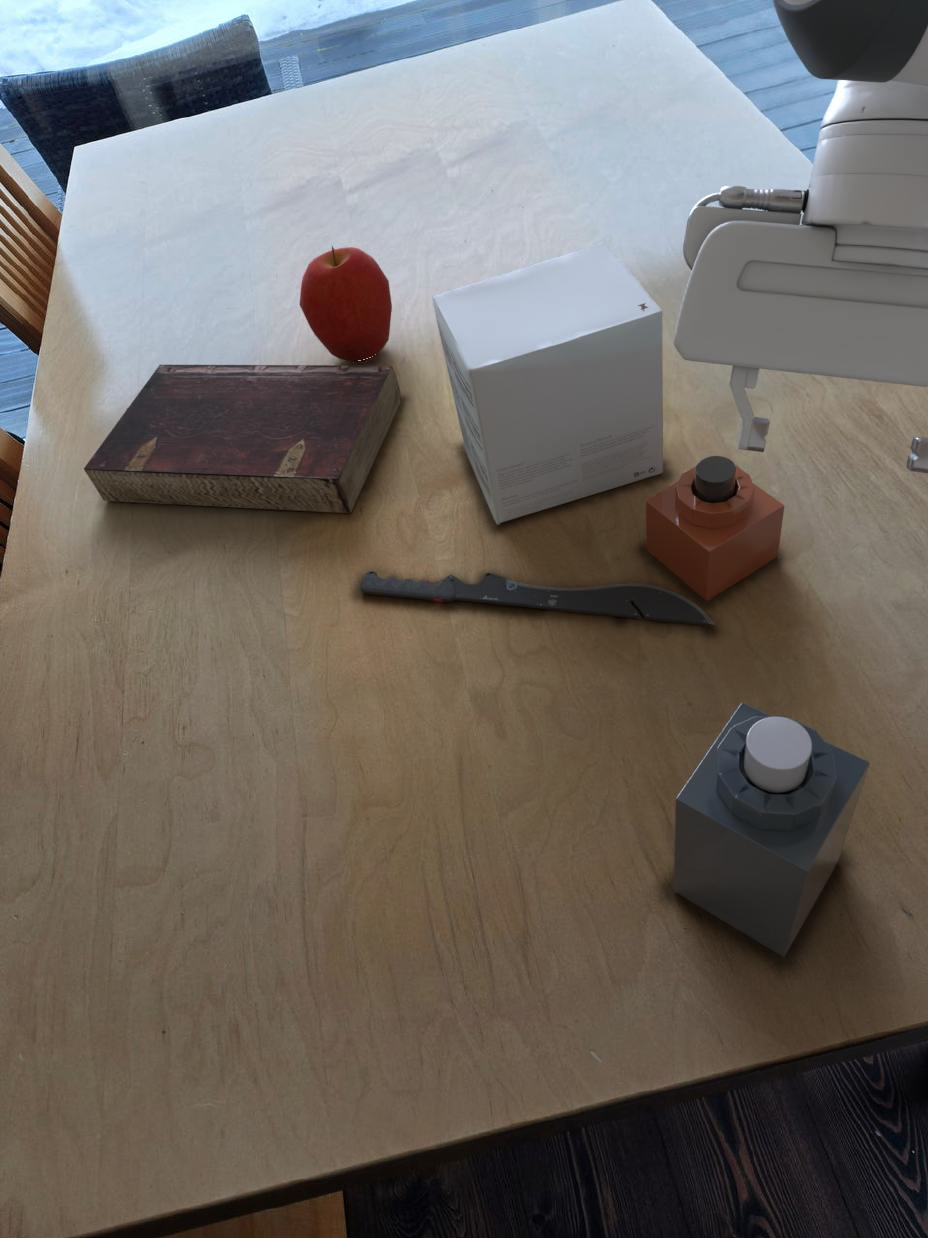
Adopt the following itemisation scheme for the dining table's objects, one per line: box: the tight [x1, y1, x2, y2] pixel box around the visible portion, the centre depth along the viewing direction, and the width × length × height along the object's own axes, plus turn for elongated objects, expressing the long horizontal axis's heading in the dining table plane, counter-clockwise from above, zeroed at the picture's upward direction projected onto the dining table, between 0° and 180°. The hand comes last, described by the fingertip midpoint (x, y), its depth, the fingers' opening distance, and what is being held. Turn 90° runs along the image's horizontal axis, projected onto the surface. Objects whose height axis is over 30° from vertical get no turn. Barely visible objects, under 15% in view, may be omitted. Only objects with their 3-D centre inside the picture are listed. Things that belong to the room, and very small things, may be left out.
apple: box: [299, 245, 393, 364], centre depth 106 cm, size 10×10×14 cm
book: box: [83, 364, 402, 514], centre depth 101 cm, size 29×19×5 cm, turn 77°
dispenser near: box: [673, 701, 871, 958], centre depth 58 cm, size 8×8×15 cm
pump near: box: [744, 716, 812, 793], centre depth 51 cm, size 3×3×3 cm
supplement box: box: [432, 241, 664, 526], centre depth 87 cm, size 17×13×18 cm
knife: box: [359, 570, 716, 627], centre depth 82 cm, size 32×4×1 cm, turn 75°
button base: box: [645, 464, 785, 602], centre depth 80 cm, size 8×8×8 cm
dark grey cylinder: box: [694, 455, 737, 503], centre depth 76 cm, size 3×3×2 cm
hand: (834, 460), depth 53 cm, fingers open, 8 cm apart
